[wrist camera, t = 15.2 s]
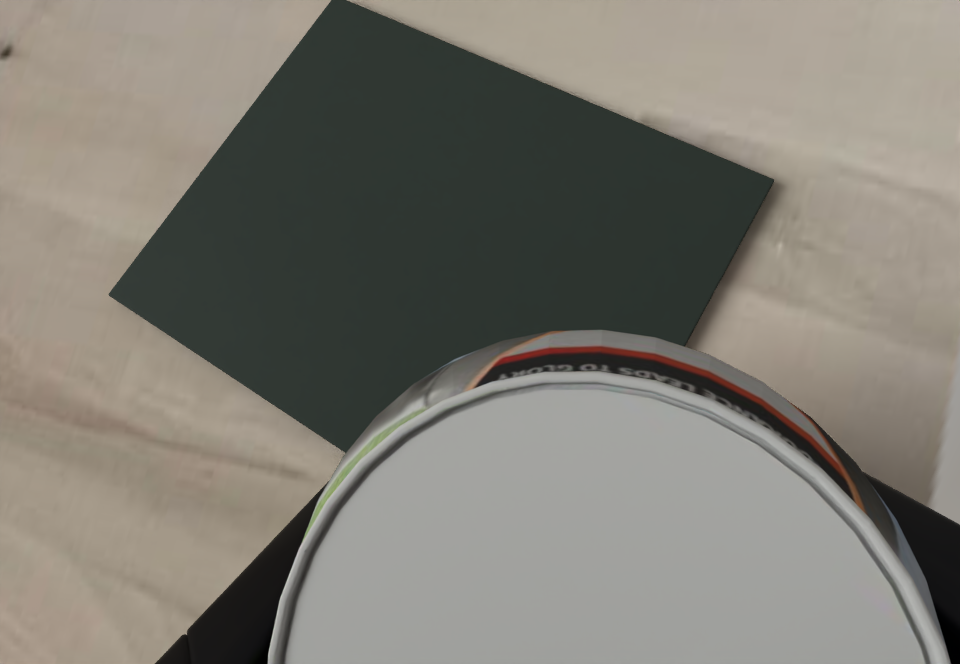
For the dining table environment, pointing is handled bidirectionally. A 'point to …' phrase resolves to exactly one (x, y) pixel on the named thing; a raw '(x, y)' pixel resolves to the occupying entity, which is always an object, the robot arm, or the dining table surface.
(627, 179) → the drip mat
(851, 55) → the dining table surface
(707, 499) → the beverage can
